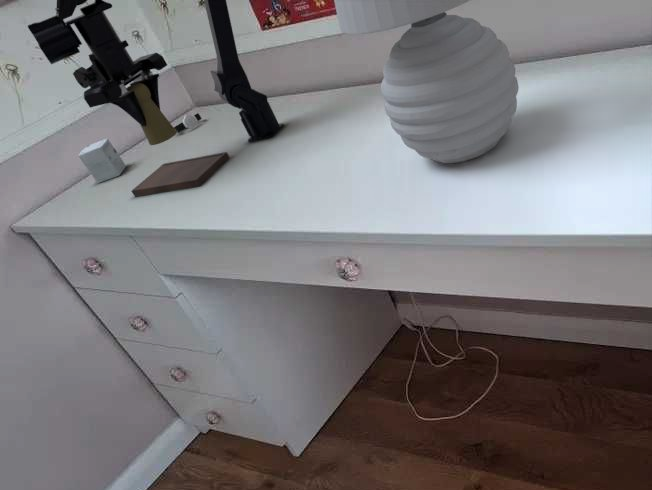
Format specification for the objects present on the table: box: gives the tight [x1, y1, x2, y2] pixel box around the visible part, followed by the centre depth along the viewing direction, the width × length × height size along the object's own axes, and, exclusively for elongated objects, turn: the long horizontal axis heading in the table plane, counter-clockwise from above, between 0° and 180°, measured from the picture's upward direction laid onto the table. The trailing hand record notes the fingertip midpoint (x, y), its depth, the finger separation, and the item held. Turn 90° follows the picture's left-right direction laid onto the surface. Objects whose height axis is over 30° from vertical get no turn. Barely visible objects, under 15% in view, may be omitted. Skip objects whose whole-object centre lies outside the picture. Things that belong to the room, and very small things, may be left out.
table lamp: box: [333, 0, 520, 164], centre depth 95 cm, size 25×25×40 cm
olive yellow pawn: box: [126, 83, 178, 146], centre depth 131 cm, size 6×6×11 cm
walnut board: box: [131, 151, 231, 198], centre depth 139 cm, size 18×12×2 cm, turn 74°
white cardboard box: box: [77, 138, 127, 184], centre depth 154 cm, size 6×6×7 cm
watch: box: [173, 112, 203, 134], centre depth 167 cm, size 8×5×4 cm, turn 143°
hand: (151, 120), depth 132 cm, fingers closed on olive yellow pawn, 4 cm apart
